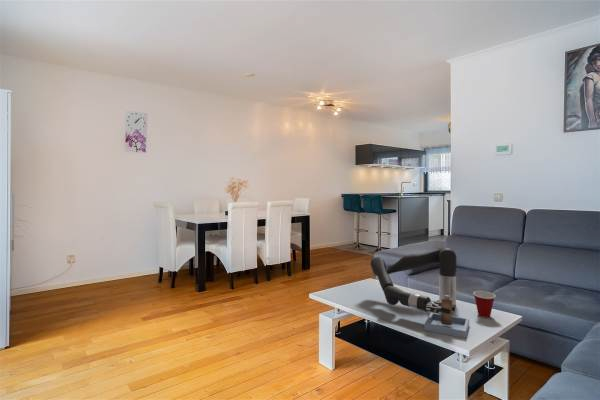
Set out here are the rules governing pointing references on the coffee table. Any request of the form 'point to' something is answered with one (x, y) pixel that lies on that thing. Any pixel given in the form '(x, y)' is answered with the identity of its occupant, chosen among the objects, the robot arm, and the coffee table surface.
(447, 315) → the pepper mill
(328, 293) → the coffee table surface
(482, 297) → the plastic cup
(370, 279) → the coffee table surface
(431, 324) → the bin
